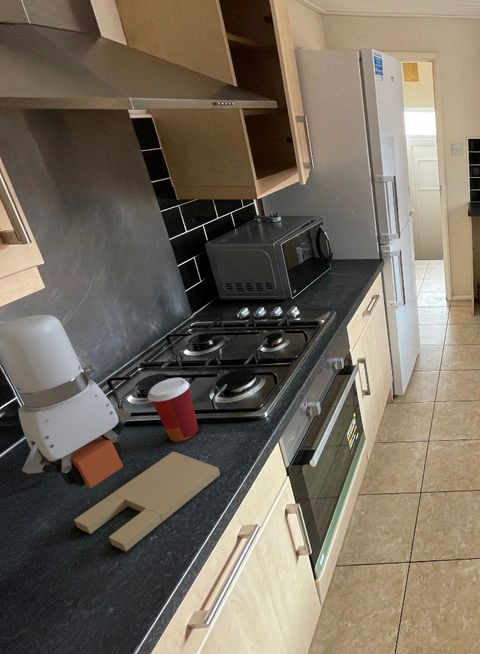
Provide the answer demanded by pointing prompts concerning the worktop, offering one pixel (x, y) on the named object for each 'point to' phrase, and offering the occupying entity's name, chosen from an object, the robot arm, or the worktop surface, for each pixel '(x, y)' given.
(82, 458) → the orange block
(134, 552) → the worktop surface
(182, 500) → the base pad
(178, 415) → the paper cup
